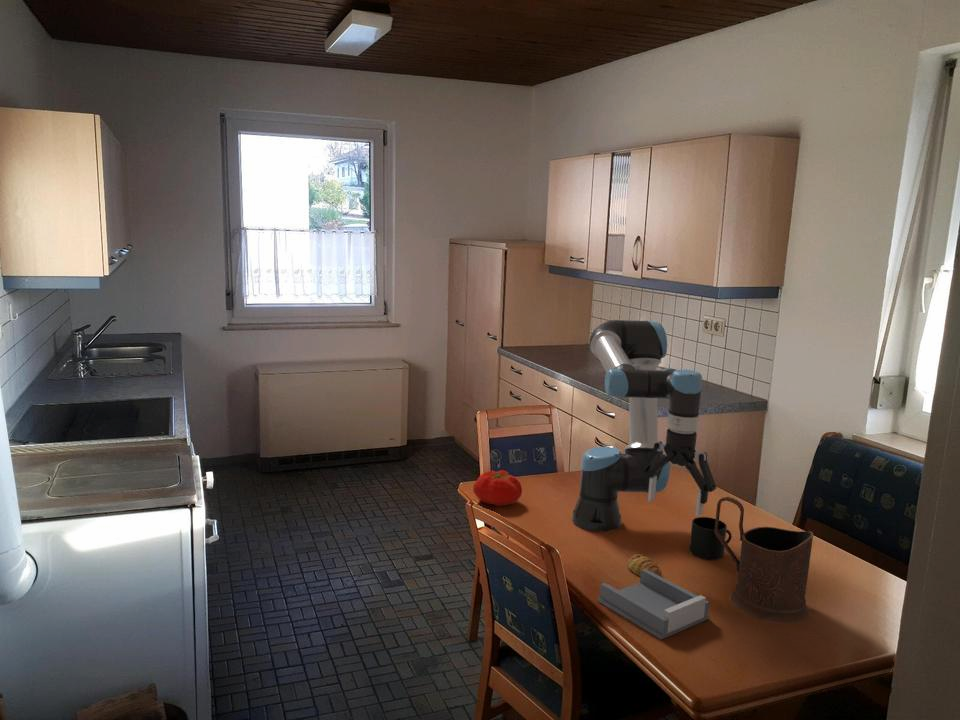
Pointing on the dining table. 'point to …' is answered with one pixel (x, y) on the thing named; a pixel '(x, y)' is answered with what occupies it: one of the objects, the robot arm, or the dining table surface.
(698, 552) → the mug
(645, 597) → the tray
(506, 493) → the tomato
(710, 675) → the dining table surface
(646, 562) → the pastry
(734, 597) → the brown pitcher
